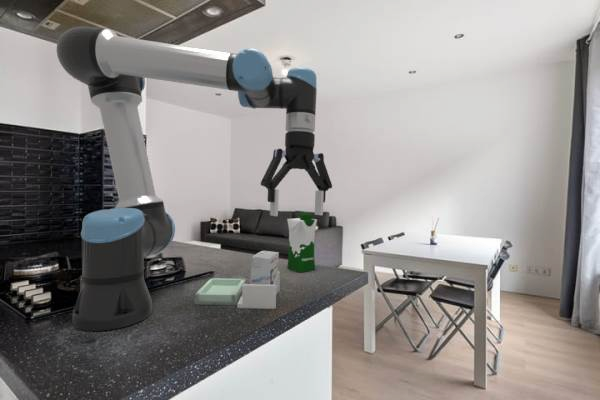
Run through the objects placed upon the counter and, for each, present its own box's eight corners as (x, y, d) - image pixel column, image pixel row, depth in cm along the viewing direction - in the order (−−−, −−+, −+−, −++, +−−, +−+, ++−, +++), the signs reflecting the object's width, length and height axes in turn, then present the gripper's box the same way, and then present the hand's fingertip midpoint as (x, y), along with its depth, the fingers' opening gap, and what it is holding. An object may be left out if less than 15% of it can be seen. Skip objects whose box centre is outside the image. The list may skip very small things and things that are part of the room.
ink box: (260, 292, 88) (260, 250, 88) (278, 294, 87) (279, 251, 87) (249, 303, 80) (249, 256, 80) (269, 305, 79) (269, 257, 79)
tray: (194, 304, 79) (194, 294, 78) (210, 286, 93) (210, 278, 92) (235, 305, 78) (235, 295, 78) (245, 287, 92) (245, 278, 92)
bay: (237, 308, 77) (237, 285, 77) (246, 290, 90) (247, 270, 90) (275, 308, 77) (275, 286, 77) (279, 290, 90) (279, 271, 90)
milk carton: (299, 273, 108) (300, 214, 107) (283, 268, 115) (284, 212, 114) (318, 270, 114) (319, 213, 113) (302, 265, 121) (303, 212, 120)
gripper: (262, 123, 72) (259, 217, 73) (347, 136, 85) (343, 215, 86) (248, 128, 78) (246, 214, 79) (329, 139, 92) (327, 213, 93)
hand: (297, 215), depth 83 cm, fingers open, 13 cm apart
